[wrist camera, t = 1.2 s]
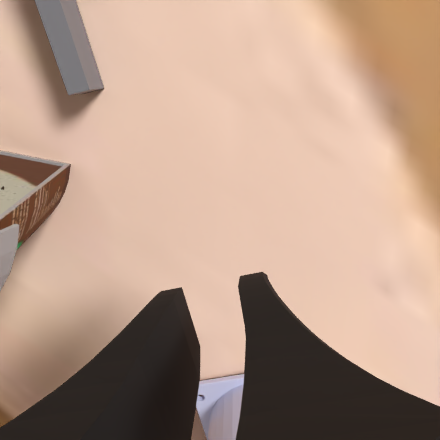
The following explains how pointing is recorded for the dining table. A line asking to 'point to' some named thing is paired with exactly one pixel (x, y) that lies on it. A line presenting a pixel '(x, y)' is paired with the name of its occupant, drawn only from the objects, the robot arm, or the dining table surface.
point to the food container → (26, 200)
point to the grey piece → (70, 45)
